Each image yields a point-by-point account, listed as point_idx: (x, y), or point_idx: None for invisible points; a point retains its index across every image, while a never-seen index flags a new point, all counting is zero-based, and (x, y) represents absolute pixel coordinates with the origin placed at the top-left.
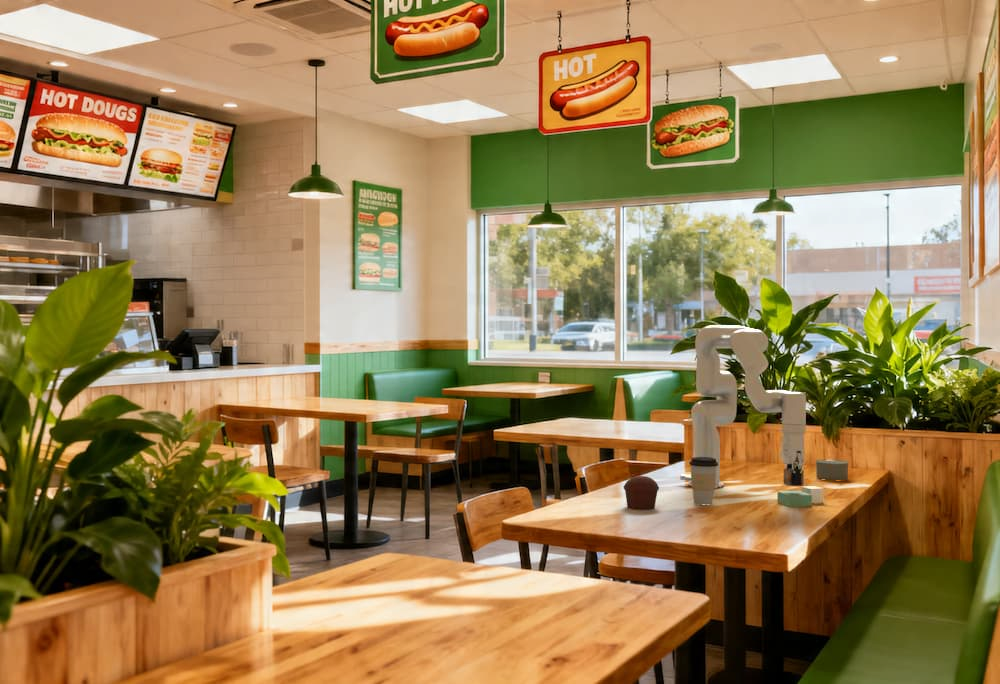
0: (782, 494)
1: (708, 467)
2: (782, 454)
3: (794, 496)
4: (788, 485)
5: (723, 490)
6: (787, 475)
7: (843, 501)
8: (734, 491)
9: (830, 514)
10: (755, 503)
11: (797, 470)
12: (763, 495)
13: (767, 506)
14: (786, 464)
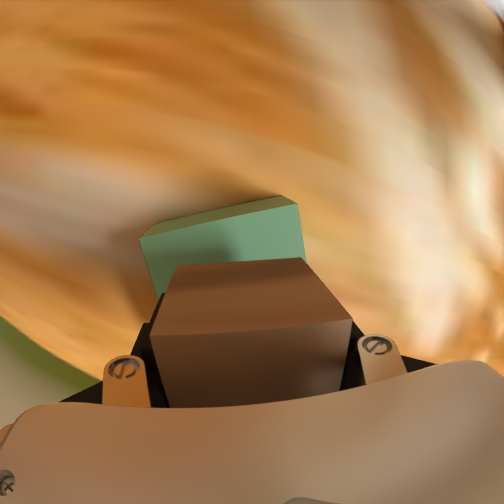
0: (229, 216)
1: None
2: (486, 440)
3: (150, 270)
4: (177, 266)
5: (498, 89)
6: (200, 301)
7: None
8: (492, 115)
9: (42, 338)
10: (245, 70)
11: (88, 400)
12: (442, 190)
13: (158, 111)
14: (385, 379)
